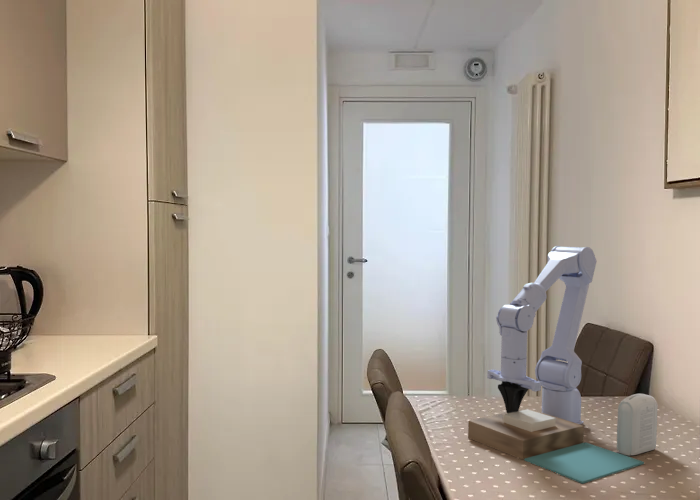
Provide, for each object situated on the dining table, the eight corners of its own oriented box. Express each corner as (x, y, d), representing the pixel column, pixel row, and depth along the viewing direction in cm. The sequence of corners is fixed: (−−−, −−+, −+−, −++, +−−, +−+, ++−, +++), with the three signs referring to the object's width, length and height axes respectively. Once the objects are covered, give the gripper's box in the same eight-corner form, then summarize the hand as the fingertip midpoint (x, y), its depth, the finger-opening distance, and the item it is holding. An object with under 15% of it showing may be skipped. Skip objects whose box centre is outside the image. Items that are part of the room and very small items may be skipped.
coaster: (527, 416, 148) (527, 409, 148) (555, 426, 142) (555, 418, 142) (503, 422, 144) (503, 414, 144) (531, 431, 137) (531, 423, 137)
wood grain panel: (527, 424, 156) (528, 408, 156) (583, 443, 143) (584, 425, 142) (468, 437, 145) (468, 420, 145) (522, 459, 132) (523, 440, 131)
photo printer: (640, 443, 143) (642, 389, 143) (659, 449, 139) (661, 393, 139) (613, 452, 137) (614, 395, 137) (631, 458, 134) (633, 400, 133)
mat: (585, 444, 142) (585, 442, 142) (644, 463, 131) (644, 461, 130) (524, 460, 131) (524, 458, 131) (582, 483, 120) (582, 481, 119)
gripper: (478, 353, 150) (477, 410, 151) (526, 364, 138) (524, 426, 139) (499, 350, 154) (498, 406, 155) (548, 361, 142) (546, 421, 143)
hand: (512, 415), depth 147 cm, fingers closed
